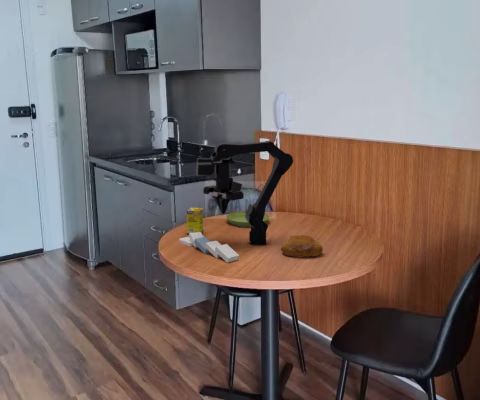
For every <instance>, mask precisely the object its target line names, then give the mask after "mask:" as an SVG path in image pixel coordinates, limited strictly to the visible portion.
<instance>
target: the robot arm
mask: <svg viewBox="0 0 480 400" xmlns="http://www.w3.org/2000/svg"><path fill="white" fill-rule="evenodd" d="M213 150H214V151H213V152H212V154H210V157H209V158H202V157H200V158H199V157H198V158H196V166H195V173H196V176H197V177H206V176H207V177H208V176H211V177H212V175H214V173H215V177H213V179H212V180H213V181H215V185H214V184H213V185H206V186H204V188H203V191H202V192H203V194H204V195H209V194H210V193H213V195H211V198H212V199H213V200H214V201H215V203H216V205H217V207H218V209H219V211H220V213H221V215H225V213H226V212H227V208H228V205H229V203H230V201H237V200H242V199H243V200H244V198H245V197H244V192H243V191H242V187H243V184H242V183H240V182H236V181H234V178H233V177H231V165H233V164H234V165H235V164H236V161H235V160H233V157H235V156H237V155H244V154H253V153H264V152H267V153H268V154H269V155H270V156H271V157H272V158H273V162H272V168H271V172H270V174H269V176H268V178H267V180H266V182H265V184H264V186H263V188H262V190H261V191H260V193H259V195H258V197H257V199H256V201H255V202H254V203H253V204H251V203H249V204H248V207H247V209H246V210H244V211H245V213H246V215H245V218H246V220H247V221H248V223H249V224H250V225H251V226H252V227H250V230H249V232H248V233H249V234H248V236H249V238H248V239H249V243H250V245H264V246H265V245H267V241H268V240H267V230H268V228H269V224H267V222H266V223H265V222H264V221H263V218H264V215H265V214H266V208H267V205H268V203H269V202H270V200H271V198H272V196H273V194H274V193H275V190H276V188H277V186H278V184H279V182H280V180H281V178H282V177H283V176H284V175H285V174H286V173H287V172H288V171H289V169H291V166H292V165H293V163H294V158H293V156H292V155H291V154H290V153H288V152H285V151H284V150H282V149H281V148H279V147H278V146H277V145H276V144H275V143H274V142H273V141H272V140H271V141H270V140H265V141H257V142H247V143H232V142H224V141H223V142H218V143H216V145H215V146H214V149H213Z"/></svg>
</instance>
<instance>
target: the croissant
mask: <svg viewBox="0 0 480 400" xmlns="http://www.w3.org/2000/svg"><path fill="white" fill-rule="evenodd" d="M280 250H281V252H282V253H283V255H285V256H286V255H287V256H286V257H294V256H306V257H305V258H310V257H309V256H316V257H318V256H320V255H321V253H323V252H324V251H323V250H324V249H323V245H322V244H321V243H320V242H319V241H317V240H316V239H315V238H313V237H312V236H309V235H307V234H306V235H293V236H290V237H289V238H288V239H287V240H286V241H285V242H283V244H281V247H280ZM317 255H318V256H317Z"/></svg>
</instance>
